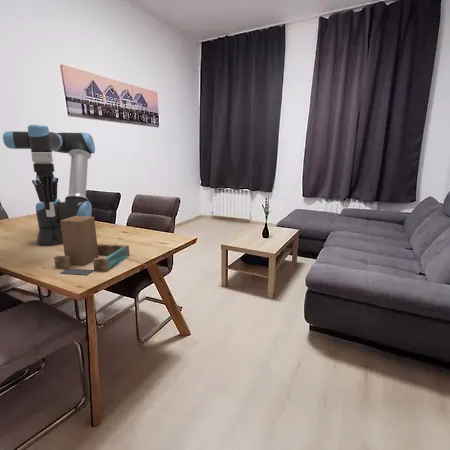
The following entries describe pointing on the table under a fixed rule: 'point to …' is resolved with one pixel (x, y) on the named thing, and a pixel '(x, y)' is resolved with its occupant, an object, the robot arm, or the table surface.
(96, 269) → the brown u-shaped piece
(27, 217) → the table surface
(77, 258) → the wooden block
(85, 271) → the mat
